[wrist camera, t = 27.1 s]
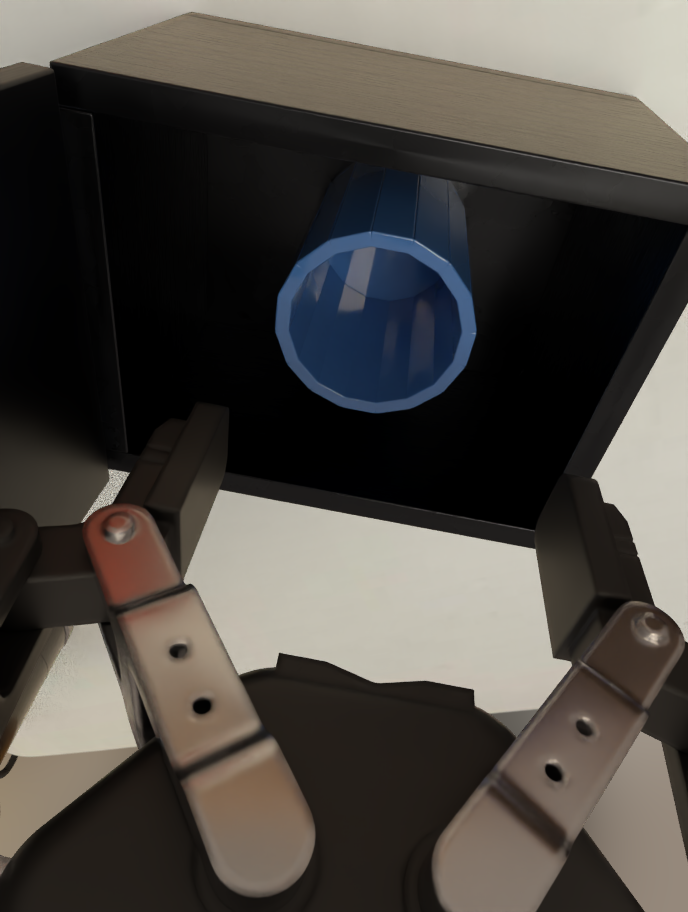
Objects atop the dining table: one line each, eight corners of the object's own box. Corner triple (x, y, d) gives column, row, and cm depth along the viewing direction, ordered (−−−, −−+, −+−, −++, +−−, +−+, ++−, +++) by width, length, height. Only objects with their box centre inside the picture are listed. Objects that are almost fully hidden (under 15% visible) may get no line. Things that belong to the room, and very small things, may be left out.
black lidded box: (637, 97, 22) (748, 194, 14) (521, 386, 30) (550, 552, 22) (189, 11, 22) (47, 60, 14) (194, 324, 30) (104, 468, 22)
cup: (446, 314, 27) (447, 427, 21) (308, 288, 27) (269, 394, 21) (485, 168, 23) (501, 255, 17) (324, 138, 23) (283, 214, 17)
